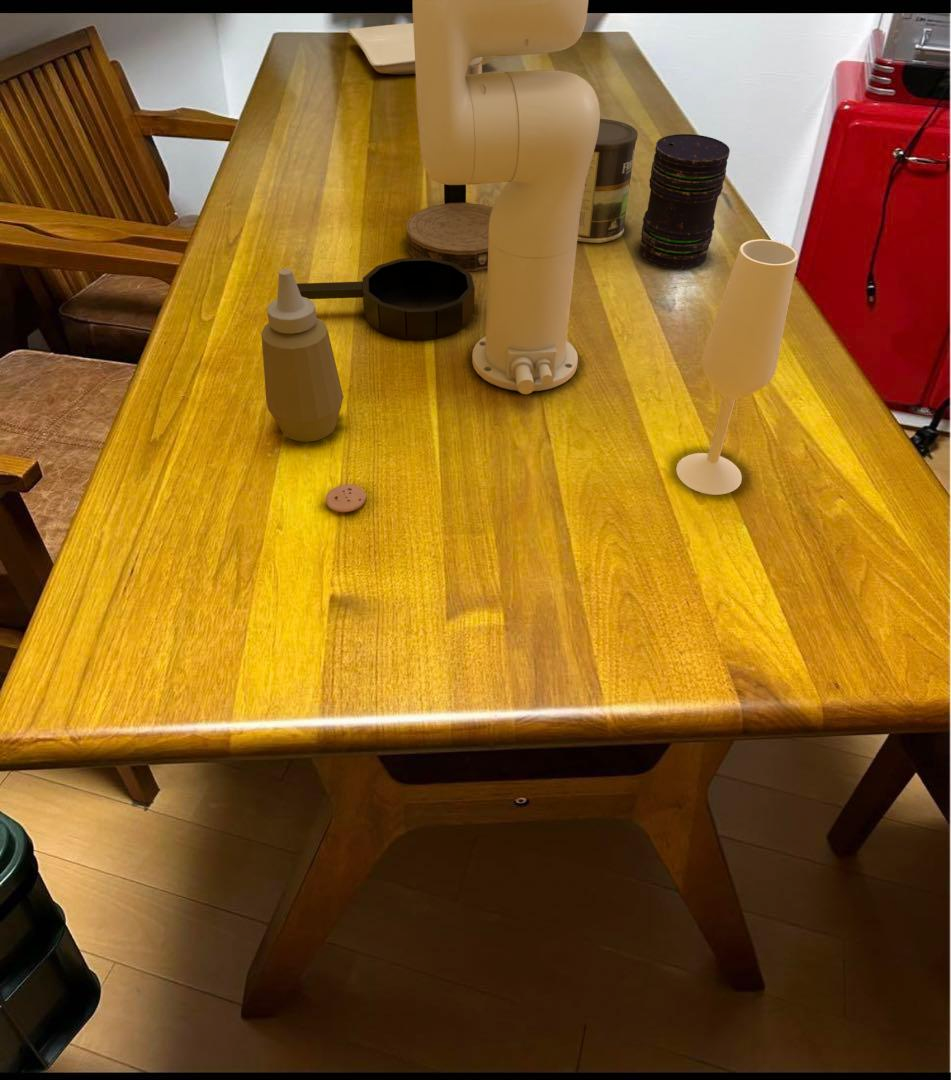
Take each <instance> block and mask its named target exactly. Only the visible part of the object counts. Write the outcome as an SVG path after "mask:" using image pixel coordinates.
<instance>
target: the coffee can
mask: <svg viewBox="0 0 951 1080" xmlns="http://www.w3.org/2000/svg"><path fill="white" fill-rule="evenodd" d="M638 133H639V132H638V131H637V129H636V128H635V127H634V126H632V125H630V124H627V123H626V122H622V121H618V120H615V119H607V118H606V119H605V118H600V123H599V132H598V137H597V142H596V146H595V149H594V153H593V156H592V160H591V163H590V167H589V171H588V175H587V178H586V183H585V188H584V193H583V199H582V205H581V212H580V220H579V229H578V238H577V242H580V243H586V244H587V243H588V244H601V243H608V242H613V241H615V240H617V239H619V238H621V236H623V234H624V232H625V222H626V215H627V207H628V200H629V193H630V185H631V184H630V183H631V179H632V172H633V165H634V158H635V157H634V156H635V149H636V142H637V140H638V137H639V136H638Z"/></svg>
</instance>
